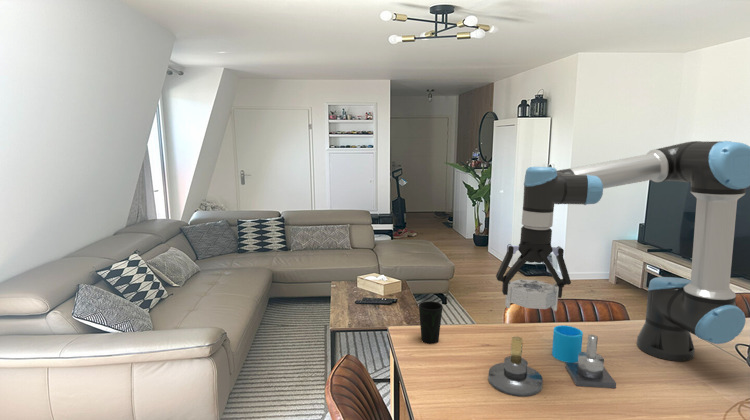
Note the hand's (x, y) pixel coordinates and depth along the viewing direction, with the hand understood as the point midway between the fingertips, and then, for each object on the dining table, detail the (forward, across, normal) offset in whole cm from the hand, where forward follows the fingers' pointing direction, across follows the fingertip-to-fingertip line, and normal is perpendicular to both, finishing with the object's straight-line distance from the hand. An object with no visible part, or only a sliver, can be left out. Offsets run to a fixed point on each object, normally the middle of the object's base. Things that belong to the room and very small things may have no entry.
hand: (530, 307), depth 119 cm
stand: (+21, -18, -4) cm, 28 cm away
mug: (+21, -15, -18) cm, 32 cm away
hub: (+21, +3, +1) cm, 21 cm away
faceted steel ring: (-2, 0, 0) cm, 2 cm away
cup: (+22, +26, -22) cm, 40 cm away
